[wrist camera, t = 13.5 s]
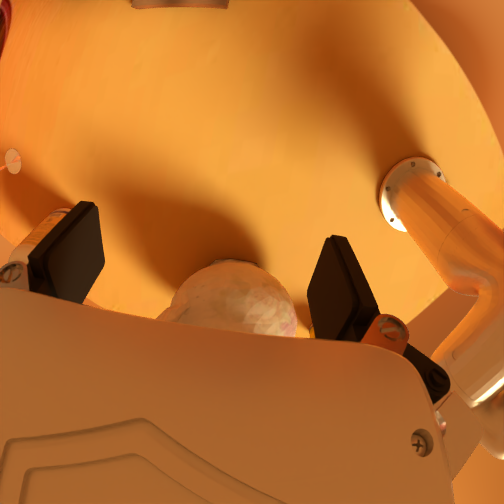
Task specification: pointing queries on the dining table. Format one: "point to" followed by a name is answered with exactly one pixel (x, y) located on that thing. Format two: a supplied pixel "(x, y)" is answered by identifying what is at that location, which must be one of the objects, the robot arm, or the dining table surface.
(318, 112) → the dining table surface
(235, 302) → the ceramic pitcher
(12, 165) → the wineglass
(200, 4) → the plinth
